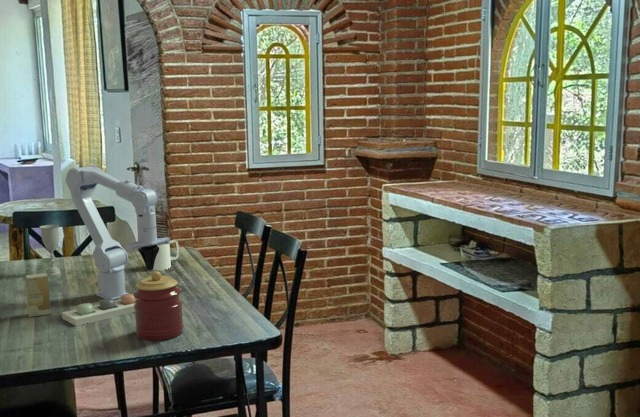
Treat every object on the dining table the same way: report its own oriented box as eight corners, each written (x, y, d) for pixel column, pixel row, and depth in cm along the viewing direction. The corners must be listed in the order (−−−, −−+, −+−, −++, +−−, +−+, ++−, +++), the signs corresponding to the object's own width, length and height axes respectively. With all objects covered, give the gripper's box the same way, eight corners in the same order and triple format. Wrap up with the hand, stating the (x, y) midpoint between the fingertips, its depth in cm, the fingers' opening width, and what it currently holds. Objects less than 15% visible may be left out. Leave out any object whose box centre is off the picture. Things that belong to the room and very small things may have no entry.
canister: (140, 344, 188) (135, 279, 185) (132, 330, 200) (128, 269, 197) (188, 336, 193) (184, 273, 191) (178, 323, 205) (174, 263, 202)
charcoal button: (97, 310, 216) (96, 300, 216) (111, 307, 219) (110, 297, 218) (103, 313, 213) (103, 303, 212) (117, 310, 216) (116, 300, 215)
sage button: (75, 315, 211) (74, 305, 211) (89, 312, 214) (88, 302, 214) (81, 319, 208) (80, 308, 208) (95, 315, 211) (94, 305, 211)
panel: (62, 318, 212) (61, 312, 211) (135, 301, 228) (135, 295, 227) (76, 326, 204) (75, 319, 204) (151, 308, 220) (150, 301, 220)
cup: (183, 267, 271) (181, 241, 270) (151, 271, 266) (150, 245, 264) (177, 263, 279) (176, 238, 277) (146, 267, 273) (145, 241, 272)
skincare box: (29, 317, 214) (25, 278, 212) (27, 313, 218) (24, 275, 216) (51, 314, 217) (48, 275, 215) (49, 310, 221) (46, 272, 219)
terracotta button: (118, 305, 221) (118, 295, 220) (131, 302, 224) (131, 292, 223) (125, 308, 217) (124, 298, 217) (138, 305, 220) (137, 295, 220)
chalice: (67, 272, 268) (63, 225, 265) (52, 276, 262) (48, 228, 259) (55, 270, 272) (50, 224, 269) (39, 274, 266) (35, 227, 263)
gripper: (132, 232, 216) (135, 275, 219) (173, 225, 226) (176, 267, 228) (121, 229, 222) (124, 272, 224) (162, 223, 231) (165, 263, 233)
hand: (150, 269), depth 226 cm, fingers closed
